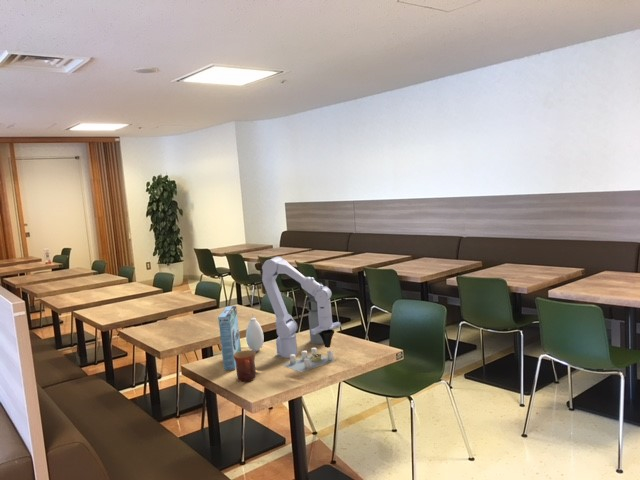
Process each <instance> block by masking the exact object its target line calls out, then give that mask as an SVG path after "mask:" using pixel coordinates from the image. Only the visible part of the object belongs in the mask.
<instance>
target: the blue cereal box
mask: <svg viewBox="0 0 640 480" xmlns="http://www.w3.org/2000/svg"><path fill="white" fill-rule="evenodd" d="M218 325H219V333H220V334H219V336H220V345H221V354H222V364H223V365H222V366H223V371H232V370H236V362H235V359H234V357H233V355H234V354H235V353H237V352H240V351H242V347H241V339H240V327H239V319H238V310H237V305H231V306H226V307H224V310H223V311H222V312H221V313H220V314H219V316H218Z"/></svg>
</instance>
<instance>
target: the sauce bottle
mask: <svg viewBox="0 0 640 480" xmlns="http://www.w3.org/2000/svg"><path fill="white" fill-rule="evenodd" d="M251 316H252V318H249V319H250V320H249V322H248V324H247V327H246V331H245V340H246V341H245V342H246V344H247V346H248V348H249V350H251V351H255V352H258V351H260V350H261V349H262V347H263V345H264V337H265V336H264V332H263V328H262V326H261V324H260V323H259V321H257V318H256V317H254V313H253V312H252V315H251Z"/></svg>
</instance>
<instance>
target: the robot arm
mask: <svg viewBox="0 0 640 480" xmlns="http://www.w3.org/2000/svg"><path fill="white" fill-rule="evenodd" d="M261 269H262V276H261V281H262V284H263V287H264V289H265V292H266V294H267V297H268V299H269V302H270V304H271V307H272V310H273V312H274V315H275V318H276V320H275V327H276V335H277V336H278V337H277V338H276V342H275V343H276V344H275V345H276V354H275V357H277V356H280V357H282V358H287V359H290V355H291V354H295V357H297V356H298V344H297V334H296V332H297V330H298V323H297V322H296V320H295V319H294V318H293V316H292V315H291V314H290V313H289V312H288V310H287V307H286V305H285V302H284V299H283V296H282V294H281V291H280V289H279V287H278V286H279V285H278V284H277V281H276V280H277V277H278V275H279V274H284V275H287V276H289V277H290V278H292V280H295V281H296V282H298V283H299V284H300V286H301V288H302V290H304V291H305V292H307V294H308V293H310V294H311V295H313V296H314V298H315V300H316V301H317V307H318V319H319V326H318V327H316V328H314V329H311V334H313V335H315V334H316V333H319V335H320V336H321V338H322V340H323V342H324V344H323V345H324V348H327V349H329V348H331V344H332V340H333V336H334V334H335V330H334V329H337V328H341V326H342V325H341V322H339V321H336V322H333V316H332V315H333V314H332V313H333V312H332V304H331V298H332V295H333V294H332V290H331V289H330V288H329V287H328V286H325V285H323V283H322V284H321V285H320V284H319V283H320V282H317V281H316V280H315V277H311V276H305V275H304V274H302V273H301V272H299V270H297V269H296V268H295V267H293V266H292V265H291V264H290V263H289V262H288V261H287V260H286V259H284V258H283V257H281V256H275V257H272V258H271V259H270V258H269V259H267V260H265V261H264V263H263V264H262V266H261Z"/></svg>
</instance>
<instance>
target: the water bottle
mask: <svg viewBox="0 0 640 480" xmlns="http://www.w3.org/2000/svg"><path fill="white" fill-rule="evenodd" d="M318 283H319V284H320V285H321V284H322V285H323V282H318ZM307 297H308V299H307V301H306V310H307V312H308V314H307V315H308V324H309V325H308V326H309V327H308V329H309V338H310V339H309V341H310V343H311V344H313V345H324V342H323V340H322V338H321V336H320V335H319V333H316V334H315V335H313V334H311V329H314V328H316V327H318V326H319V319H318V307H317V301H316V300H315V298H314V296H313V295H311V294H310V293H308V292H307ZM309 303H310V304H309ZM309 305H310V306H309ZM310 308H311V309H310Z"/></svg>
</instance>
